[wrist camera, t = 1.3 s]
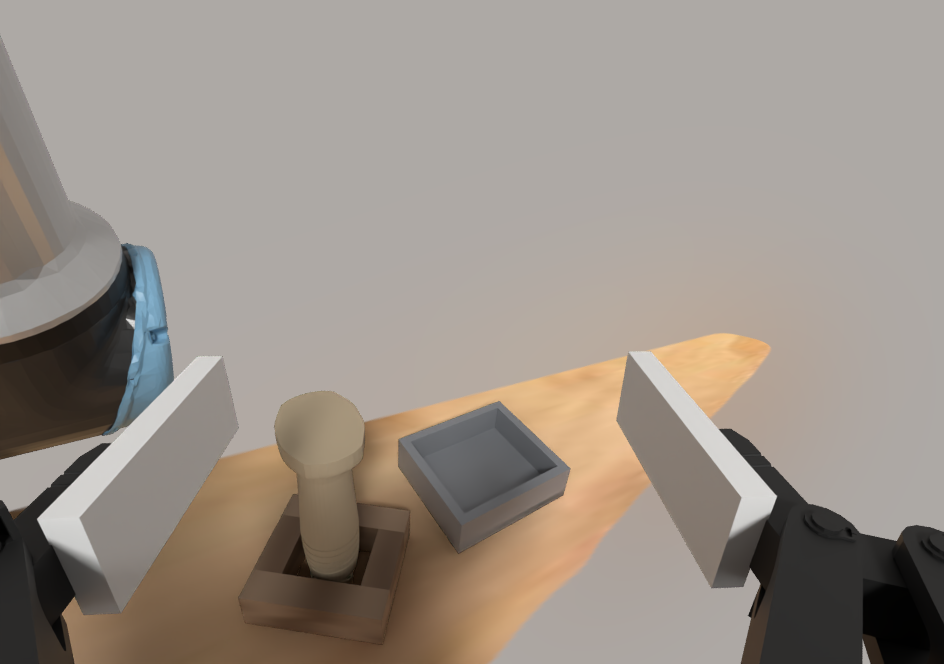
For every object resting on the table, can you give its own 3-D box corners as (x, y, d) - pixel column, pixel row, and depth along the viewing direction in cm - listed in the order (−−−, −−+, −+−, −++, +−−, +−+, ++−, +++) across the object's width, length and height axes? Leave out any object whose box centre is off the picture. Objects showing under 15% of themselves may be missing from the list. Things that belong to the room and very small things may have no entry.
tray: (458, 553, 38) (461, 525, 37) (398, 466, 46) (398, 439, 44) (563, 495, 44) (570, 468, 43) (495, 426, 52) (499, 401, 50)
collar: (245, 623, 33) (238, 597, 31) (297, 518, 40) (293, 493, 38) (382, 644, 32) (381, 620, 31) (409, 534, 40) (410, 510, 38)
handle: (314, 630, 33) (291, 476, 25) (291, 553, 37) (265, 403, 30) (381, 597, 35) (378, 447, 27) (352, 529, 40) (342, 383, 32)
